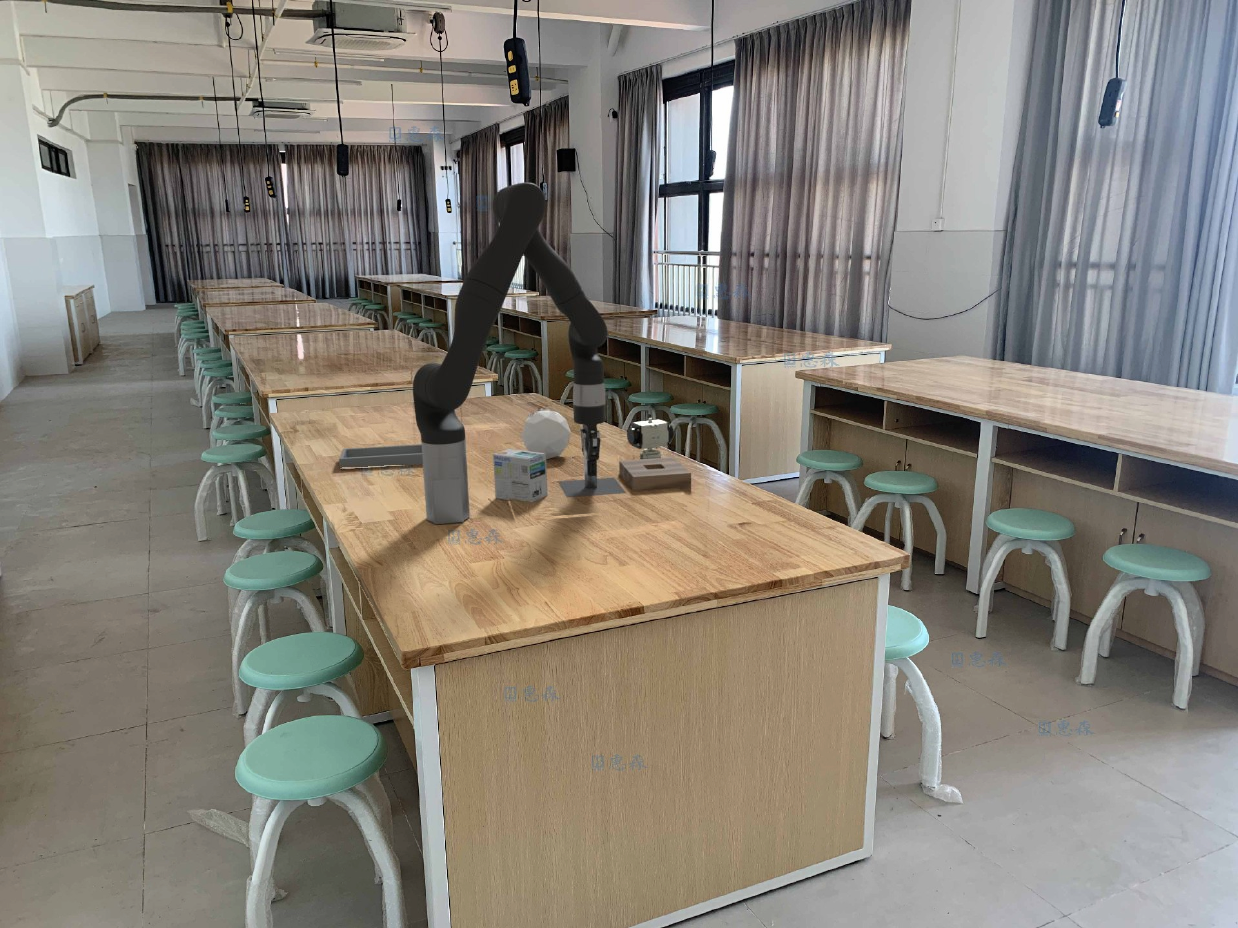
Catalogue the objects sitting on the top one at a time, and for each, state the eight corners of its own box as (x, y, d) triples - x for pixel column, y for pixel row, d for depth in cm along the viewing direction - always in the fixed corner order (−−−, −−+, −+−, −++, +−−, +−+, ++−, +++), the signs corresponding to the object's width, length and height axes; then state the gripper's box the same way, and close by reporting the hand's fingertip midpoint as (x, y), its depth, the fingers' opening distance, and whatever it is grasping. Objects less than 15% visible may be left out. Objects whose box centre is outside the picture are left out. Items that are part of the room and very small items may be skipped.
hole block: (691, 489, 214) (691, 472, 213) (633, 493, 211) (633, 476, 210) (673, 472, 229) (673, 457, 228) (619, 476, 226) (619, 460, 225)
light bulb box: (548, 497, 209) (547, 452, 206) (531, 505, 203) (529, 458, 201) (511, 491, 214) (509, 447, 212) (494, 498, 209) (491, 453, 206)
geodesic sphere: (528, 446, 234) (553, 401, 236) (500, 438, 244) (524, 395, 247) (564, 471, 243) (588, 427, 246) (536, 462, 254) (558, 420, 256)
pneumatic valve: (626, 463, 239) (626, 419, 236) (665, 458, 244) (665, 414, 241) (636, 468, 234) (635, 422, 231) (675, 462, 239) (675, 418, 236)
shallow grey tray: (429, 464, 241) (428, 453, 240) (340, 470, 236) (339, 459, 235) (429, 454, 252) (428, 443, 251) (343, 459, 247) (342, 448, 247)
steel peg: (598, 487, 214) (597, 446, 211) (585, 488, 213) (585, 446, 210) (596, 483, 216) (595, 443, 214) (583, 484, 216) (582, 444, 213)
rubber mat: (626, 495, 210) (626, 492, 210) (566, 499, 207) (566, 497, 207) (614, 479, 223) (614, 477, 223) (558, 483, 220) (557, 481, 220)
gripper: (611, 406, 204) (612, 480, 208) (599, 396, 217) (600, 465, 221) (578, 408, 202) (580, 482, 207) (568, 397, 216) (570, 467, 220)
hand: (590, 473), depth 214 cm, fingers closed on steel peg, 3 cm apart
